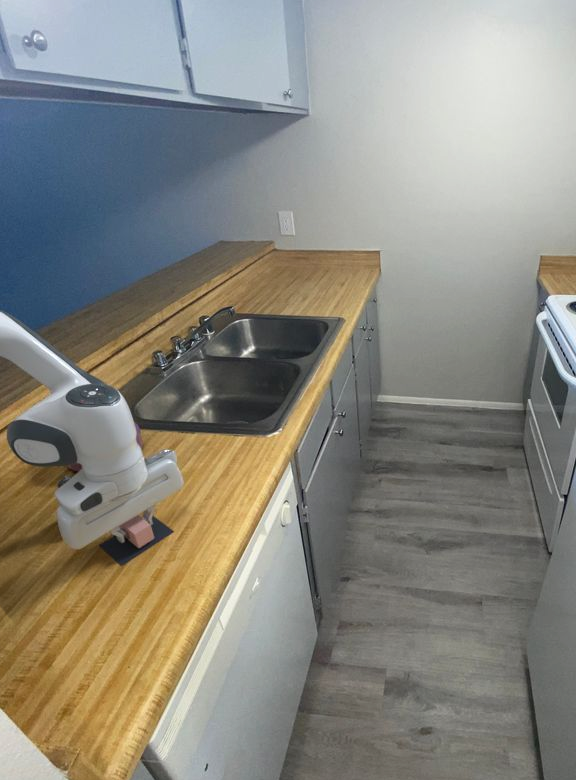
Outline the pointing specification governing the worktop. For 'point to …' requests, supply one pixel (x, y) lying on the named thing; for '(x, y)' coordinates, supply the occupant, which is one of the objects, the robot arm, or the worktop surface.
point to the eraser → (138, 531)
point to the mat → (127, 549)
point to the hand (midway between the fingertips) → (135, 532)
